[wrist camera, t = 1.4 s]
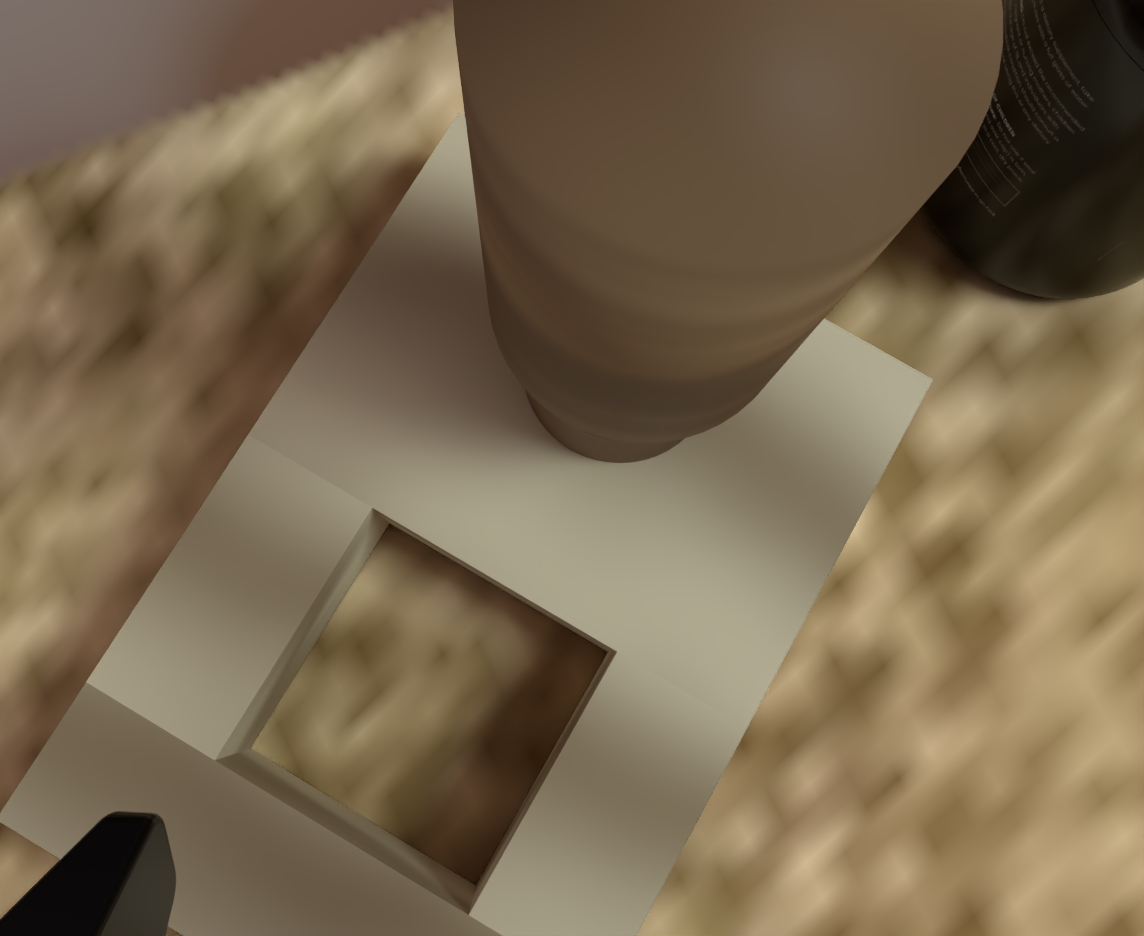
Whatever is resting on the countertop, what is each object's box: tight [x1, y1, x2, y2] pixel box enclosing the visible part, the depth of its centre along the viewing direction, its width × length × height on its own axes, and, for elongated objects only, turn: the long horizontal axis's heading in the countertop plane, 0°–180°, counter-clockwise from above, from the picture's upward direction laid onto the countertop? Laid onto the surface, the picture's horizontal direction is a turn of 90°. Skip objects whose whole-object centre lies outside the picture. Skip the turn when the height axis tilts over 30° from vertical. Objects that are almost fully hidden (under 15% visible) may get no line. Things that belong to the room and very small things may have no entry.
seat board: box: [0, 113, 933, 936], centre depth 21 cm, size 16×11×2 cm
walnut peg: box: [453, 0, 1003, 463], centre depth 15 cm, size 5×5×12 cm
